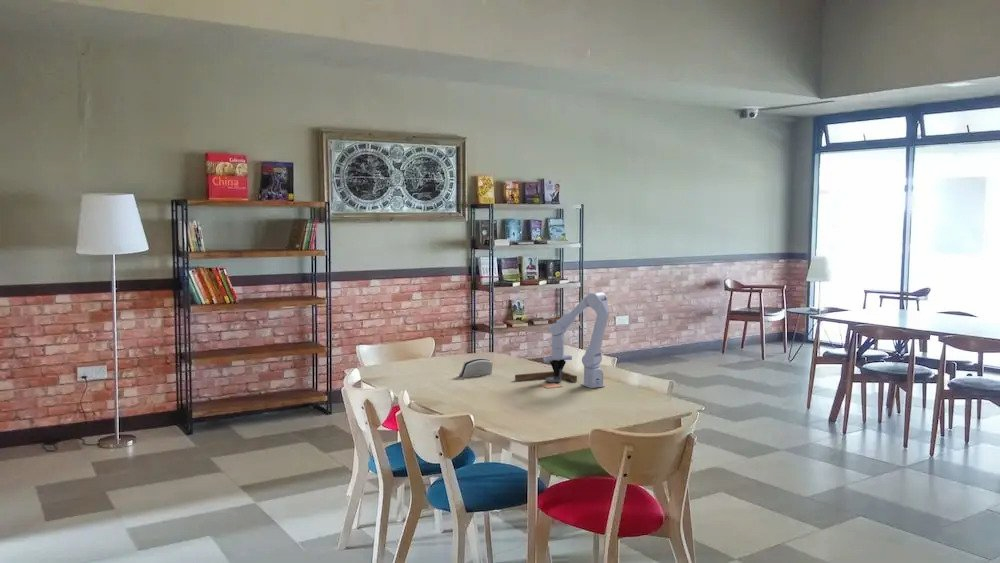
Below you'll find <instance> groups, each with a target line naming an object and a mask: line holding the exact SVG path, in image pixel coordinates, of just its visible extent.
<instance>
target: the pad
mask: <svg viewBox="0 0 1000 563" xmlns="http://www.w3.org/2000/svg"><path fill="white" fill-rule="evenodd" d="M540 385H541V387H543V388H545V387H546V388H545V389H554V388H555V389H556V387H557V388H563V385H560V384H557V383H556V382H552V383H551V382H549V383H541V384H539V386H540Z"/></svg>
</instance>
